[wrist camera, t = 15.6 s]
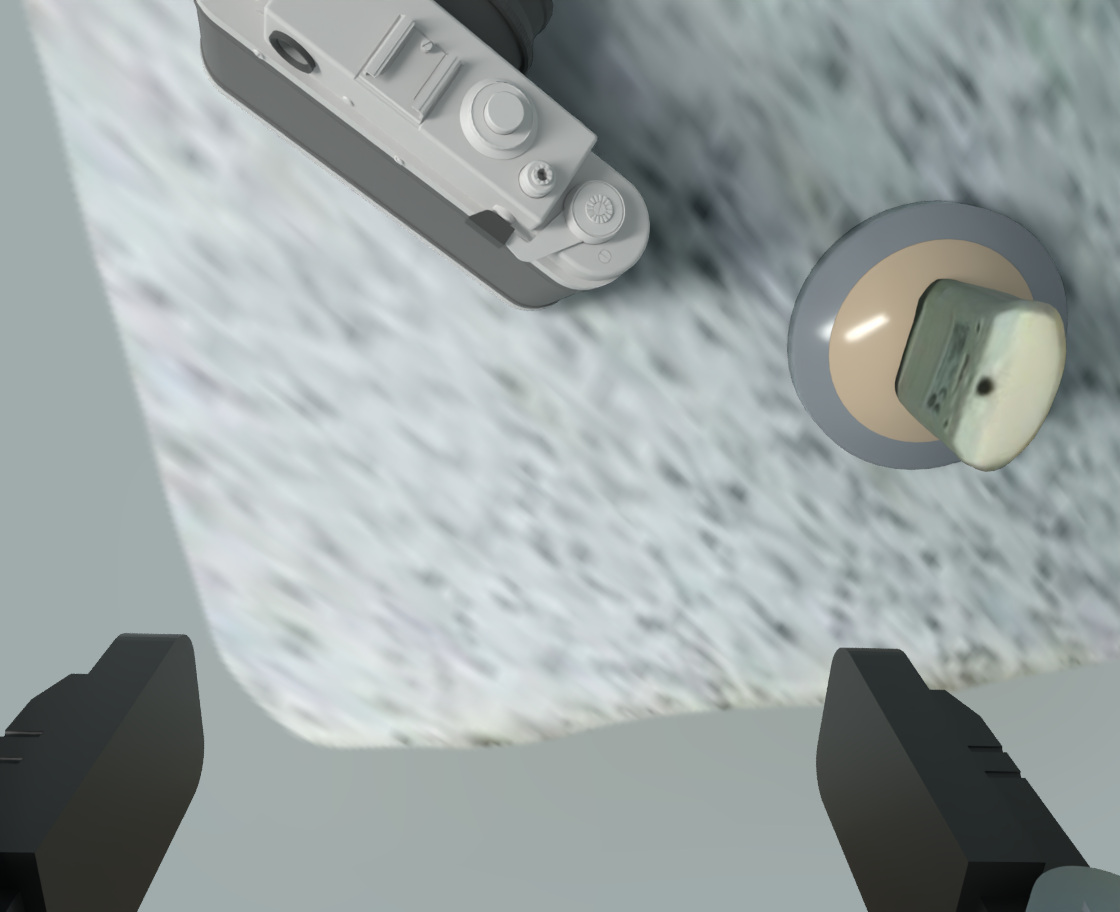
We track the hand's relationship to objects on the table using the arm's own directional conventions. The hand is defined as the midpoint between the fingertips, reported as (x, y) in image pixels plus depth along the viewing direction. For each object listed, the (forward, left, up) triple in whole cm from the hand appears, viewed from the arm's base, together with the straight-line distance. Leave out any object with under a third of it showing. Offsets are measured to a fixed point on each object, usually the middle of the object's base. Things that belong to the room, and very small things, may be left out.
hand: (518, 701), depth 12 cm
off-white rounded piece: (+4, +16, -27) cm, 31 cm away
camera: (-8, -2, -28) cm, 29 cm away
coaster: (+4, +16, -28) cm, 33 cm away
